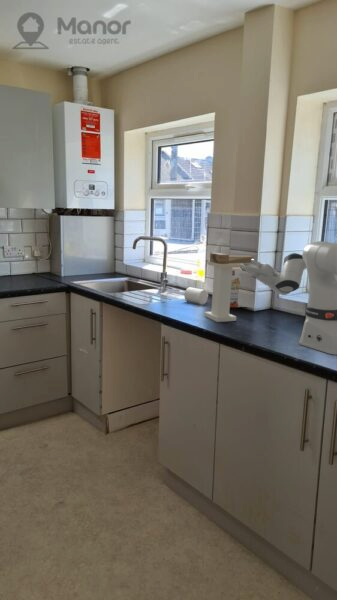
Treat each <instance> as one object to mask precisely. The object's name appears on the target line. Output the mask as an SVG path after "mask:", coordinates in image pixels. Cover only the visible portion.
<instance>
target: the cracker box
mask: <svg viewBox="0 0 337 600" xmlns="http://www.w3.org/2000/svg"><path fill="white" fill-rule="evenodd" d="M241 273H242V269H241V268H233V269H232V283H231V296H230V308H238V307H237V306H238V293H239V285H240V282H241Z"/></svg>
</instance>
